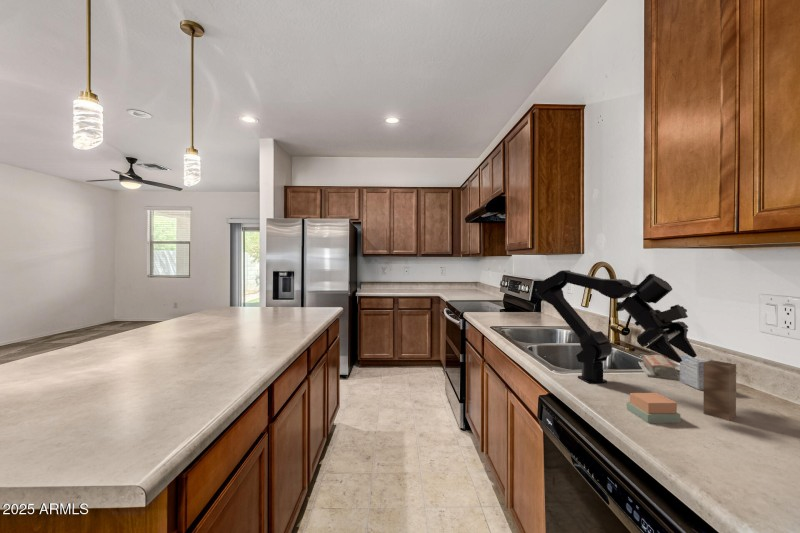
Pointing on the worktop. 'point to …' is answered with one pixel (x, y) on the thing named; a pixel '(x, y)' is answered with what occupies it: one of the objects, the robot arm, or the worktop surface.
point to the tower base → (653, 415)
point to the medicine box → (692, 371)
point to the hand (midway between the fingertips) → (688, 359)
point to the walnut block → (720, 389)
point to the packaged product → (659, 367)
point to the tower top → (653, 403)
